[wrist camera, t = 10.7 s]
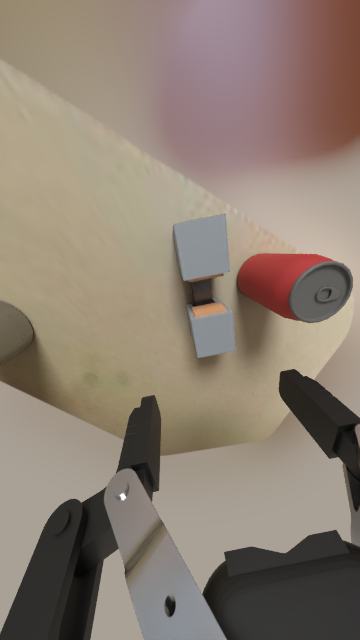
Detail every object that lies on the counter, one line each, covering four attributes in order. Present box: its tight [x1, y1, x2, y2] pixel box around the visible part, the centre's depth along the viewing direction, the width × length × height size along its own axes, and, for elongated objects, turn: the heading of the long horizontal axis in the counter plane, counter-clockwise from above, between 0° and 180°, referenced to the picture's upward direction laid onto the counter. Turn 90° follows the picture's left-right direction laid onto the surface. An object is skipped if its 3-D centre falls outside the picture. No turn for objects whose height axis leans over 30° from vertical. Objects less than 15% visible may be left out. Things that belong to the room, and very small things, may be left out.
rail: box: [191, 279, 212, 306], centre depth 25 cm, size 2×16×2 cm, turn 11°
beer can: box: [237, 253, 353, 323], centre depth 20 cm, size 7×7×12 cm
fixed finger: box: [173, 214, 230, 282], centre depth 21 cm, size 5×6×7 cm
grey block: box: [186, 298, 236, 358], centre depth 25 cm, size 5×6×7 cm
